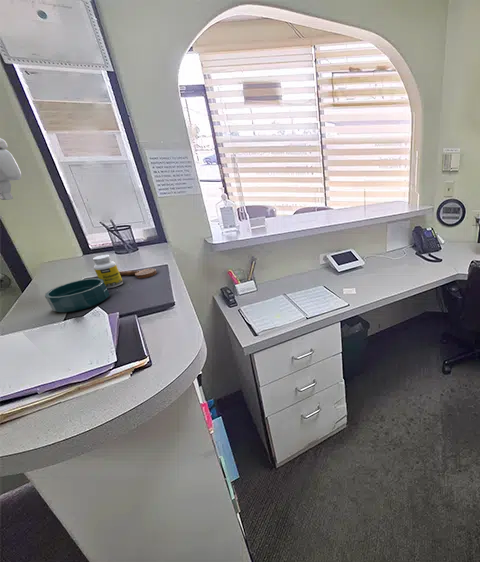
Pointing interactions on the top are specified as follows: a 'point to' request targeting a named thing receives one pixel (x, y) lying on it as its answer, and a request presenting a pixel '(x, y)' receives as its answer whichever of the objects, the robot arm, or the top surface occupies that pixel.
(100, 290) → the bowl
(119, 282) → the supplement bottle
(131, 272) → the spoon
